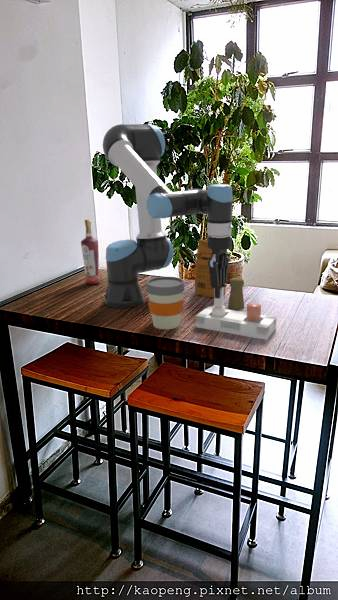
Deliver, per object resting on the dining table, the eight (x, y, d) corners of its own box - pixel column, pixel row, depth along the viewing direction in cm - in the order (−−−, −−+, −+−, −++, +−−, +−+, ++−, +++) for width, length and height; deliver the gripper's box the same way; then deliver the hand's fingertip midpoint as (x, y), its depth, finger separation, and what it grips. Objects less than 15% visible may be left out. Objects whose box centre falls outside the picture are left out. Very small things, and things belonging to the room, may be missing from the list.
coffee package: (201, 288, 190) (201, 236, 182) (229, 292, 184) (230, 238, 176) (190, 295, 181) (190, 241, 174) (218, 299, 175) (219, 243, 168)
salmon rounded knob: (244, 319, 143) (244, 306, 142) (249, 315, 147) (249, 302, 146) (257, 321, 141) (258, 308, 140) (262, 317, 145) (262, 304, 144)
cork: (244, 310, 164) (244, 281, 160) (227, 309, 165) (227, 280, 161) (244, 304, 169) (245, 276, 166) (228, 303, 171) (229, 275, 167)
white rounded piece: (209, 320, 150) (209, 308, 148) (215, 316, 153) (215, 304, 152) (222, 322, 148) (222, 310, 146) (227, 318, 151) (227, 305, 150)
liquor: (104, 282, 202) (100, 219, 192) (94, 286, 196) (88, 221, 187) (92, 280, 205) (86, 218, 196) (81, 284, 199) (75, 220, 190)
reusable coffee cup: (182, 332, 146) (181, 288, 141) (144, 330, 148) (142, 286, 143) (187, 318, 158) (186, 276, 153) (152, 316, 160) (150, 276, 155)
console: (195, 327, 150) (195, 315, 149) (208, 317, 158) (208, 306, 157) (266, 339, 139) (267, 327, 137) (275, 328, 147) (276, 317, 146)
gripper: (222, 240, 134) (221, 314, 142) (238, 232, 145) (236, 302, 153) (199, 238, 138) (200, 311, 145) (216, 231, 148) (216, 299, 156)
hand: (218, 306), depth 149 cm, fingers closed
